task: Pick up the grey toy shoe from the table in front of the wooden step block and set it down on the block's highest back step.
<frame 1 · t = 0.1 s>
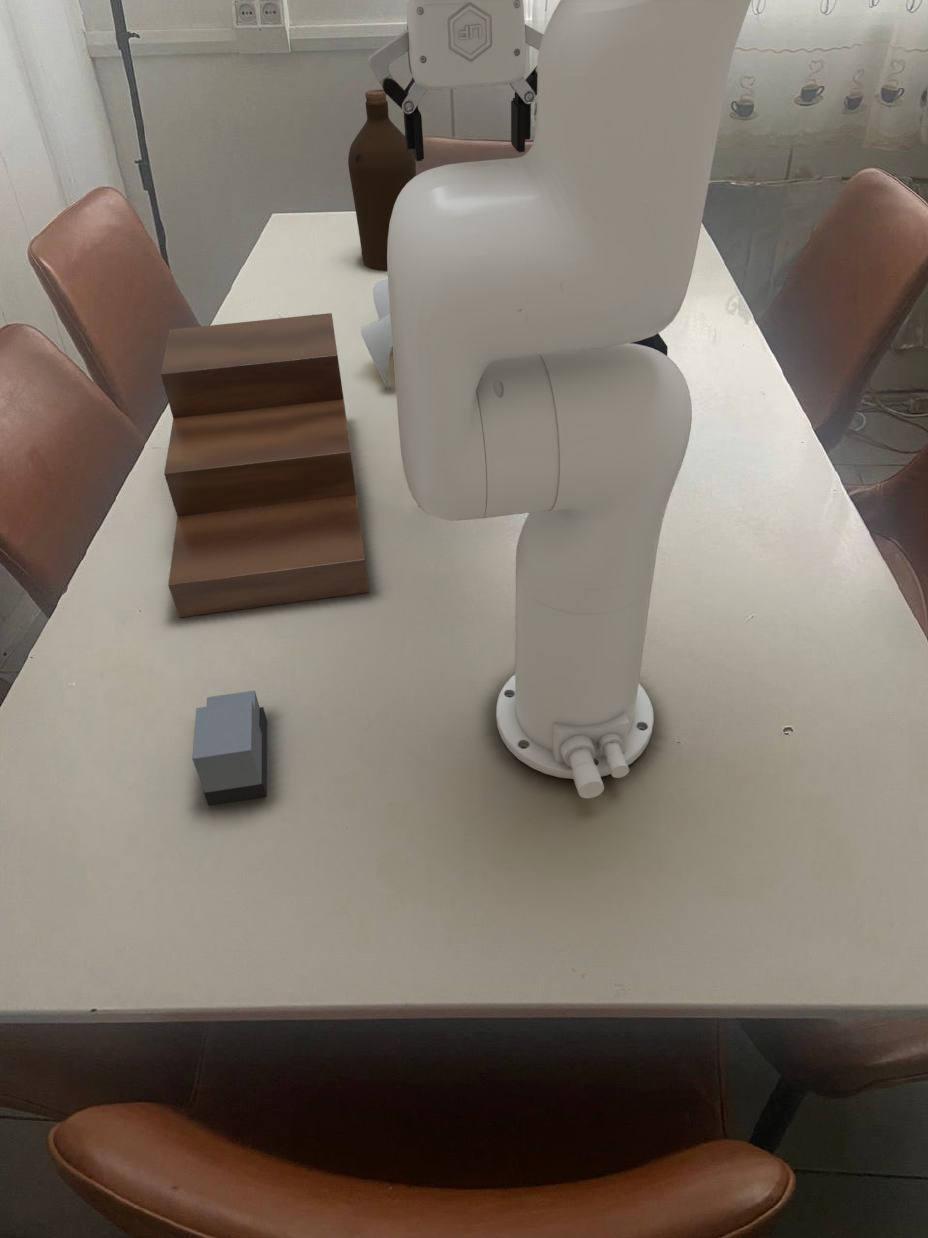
hand: (468, 152, 85), 31 cm above the table, tool pointing down, fingers open, 9 cm apart
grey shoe: (238, 760, 70), on the table
olive oil: (391, 261, 150), on the table
sculpture: (437, 348, 125), on the table
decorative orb: (599, 426, 107), on the table
wooden step block: (274, 507, 97), on the table
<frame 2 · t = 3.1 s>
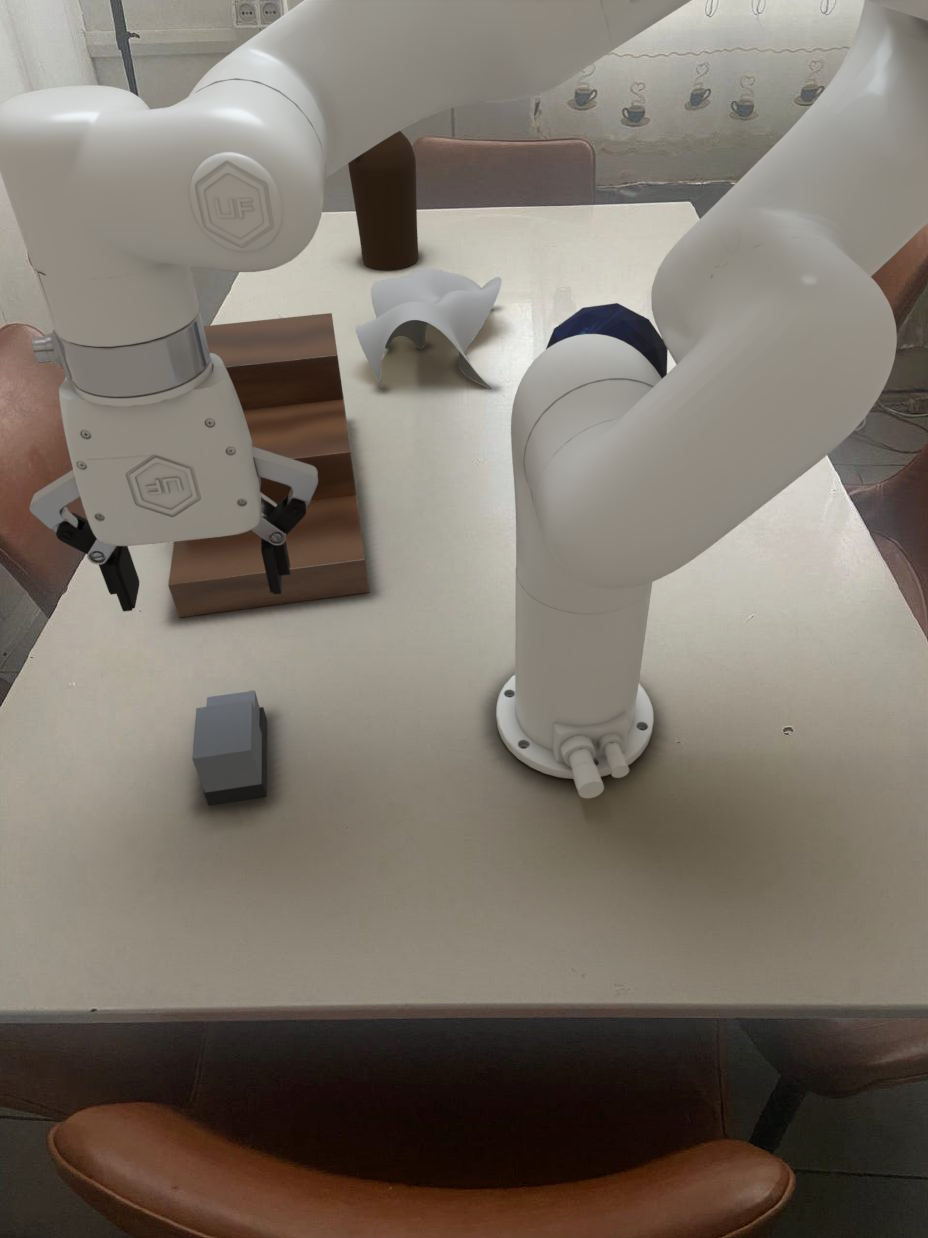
hand: (204, 589, 60), 17 cm above the table, tool pointing down, fingers open, 9 cm apart
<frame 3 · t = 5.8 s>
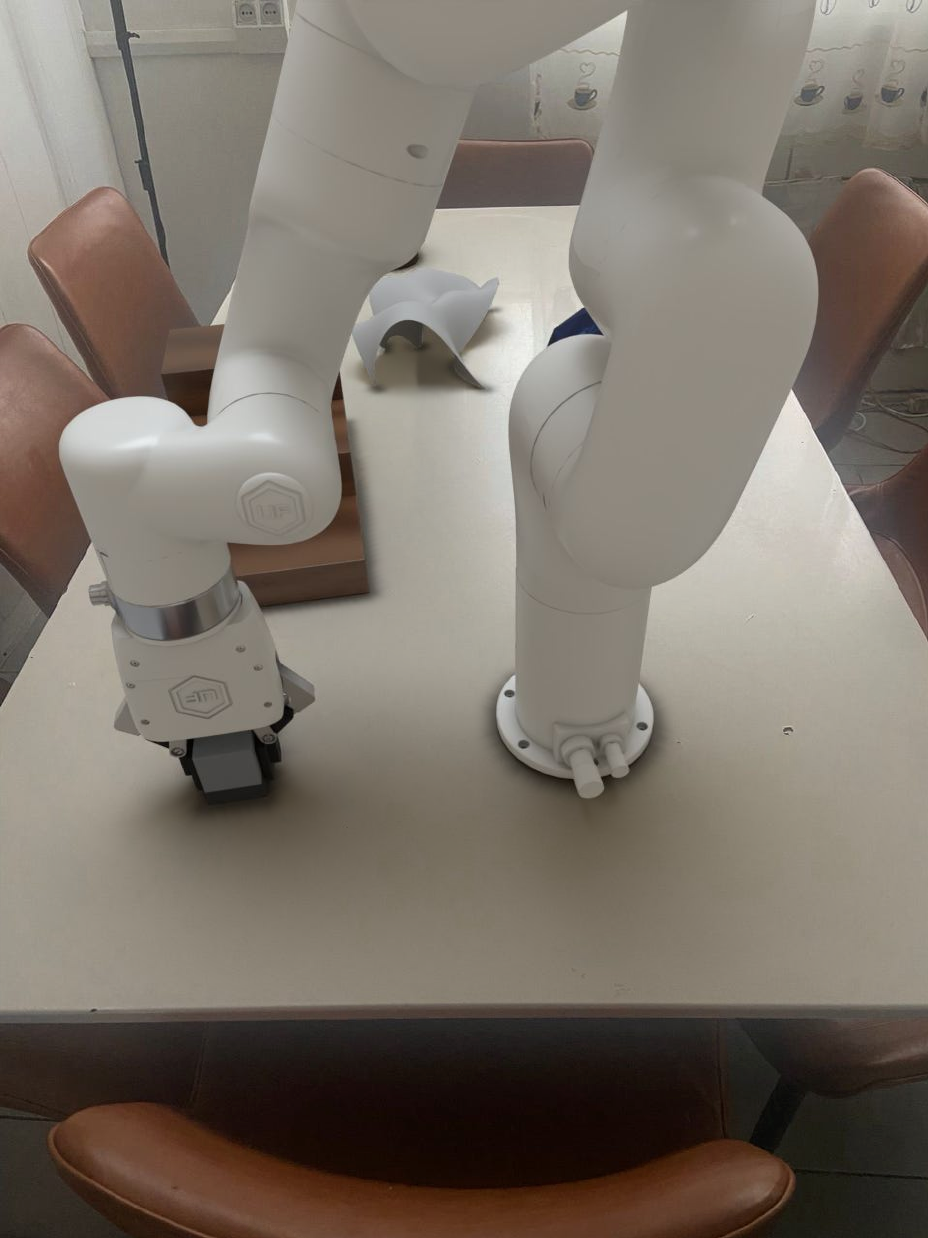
hand: (236, 769, 69), 1 cm above the table, tool pointing down, fingers closed on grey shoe, 4 cm apart
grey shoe: (238, 760, 70), on the table, touching gripper
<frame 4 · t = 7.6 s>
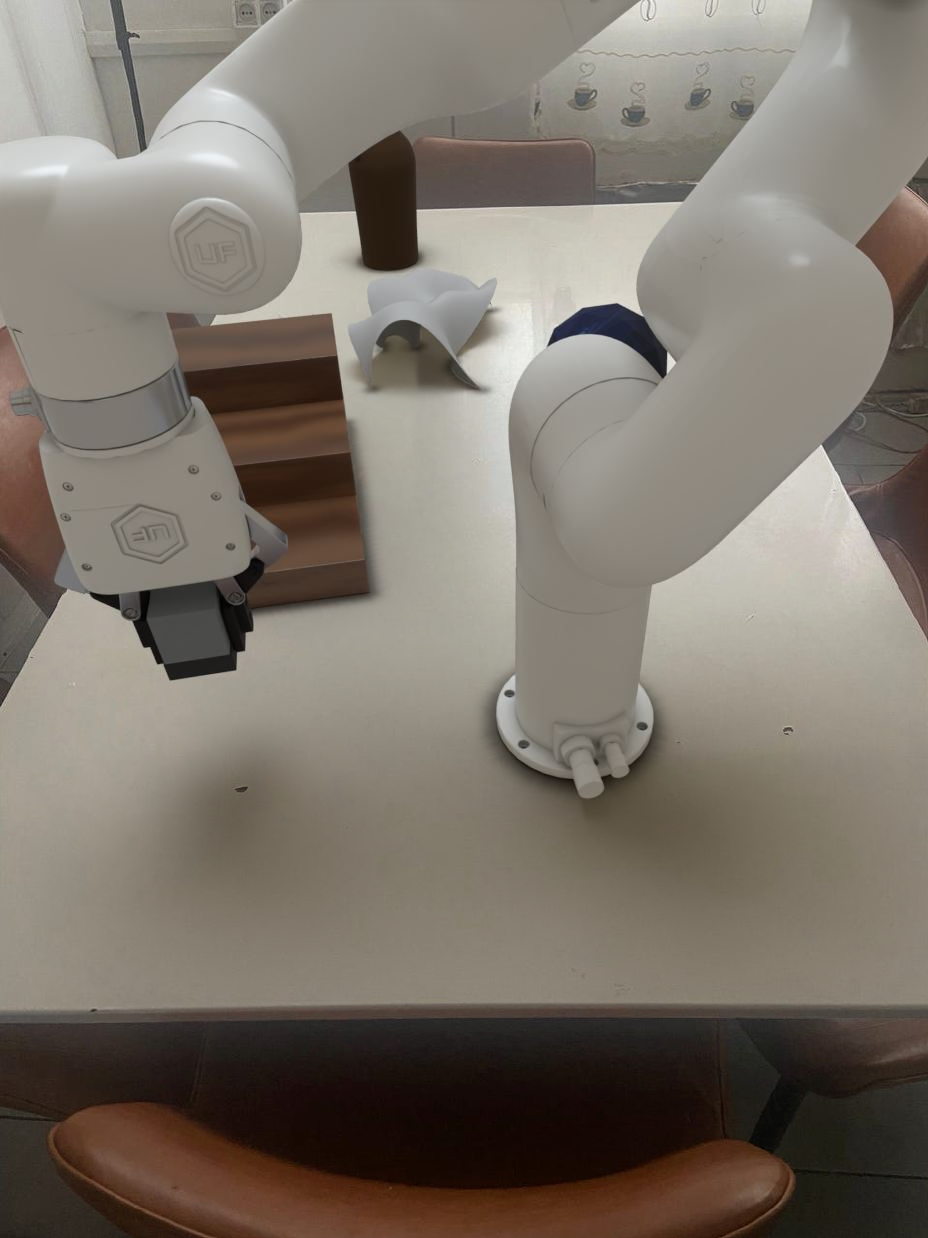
hand: (202, 641, 60), 14 cm above the table, tool pointing down, fingers closed on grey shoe, 4 cm apart
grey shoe: (206, 635, 62), point 13 cm above the table, touching gripper
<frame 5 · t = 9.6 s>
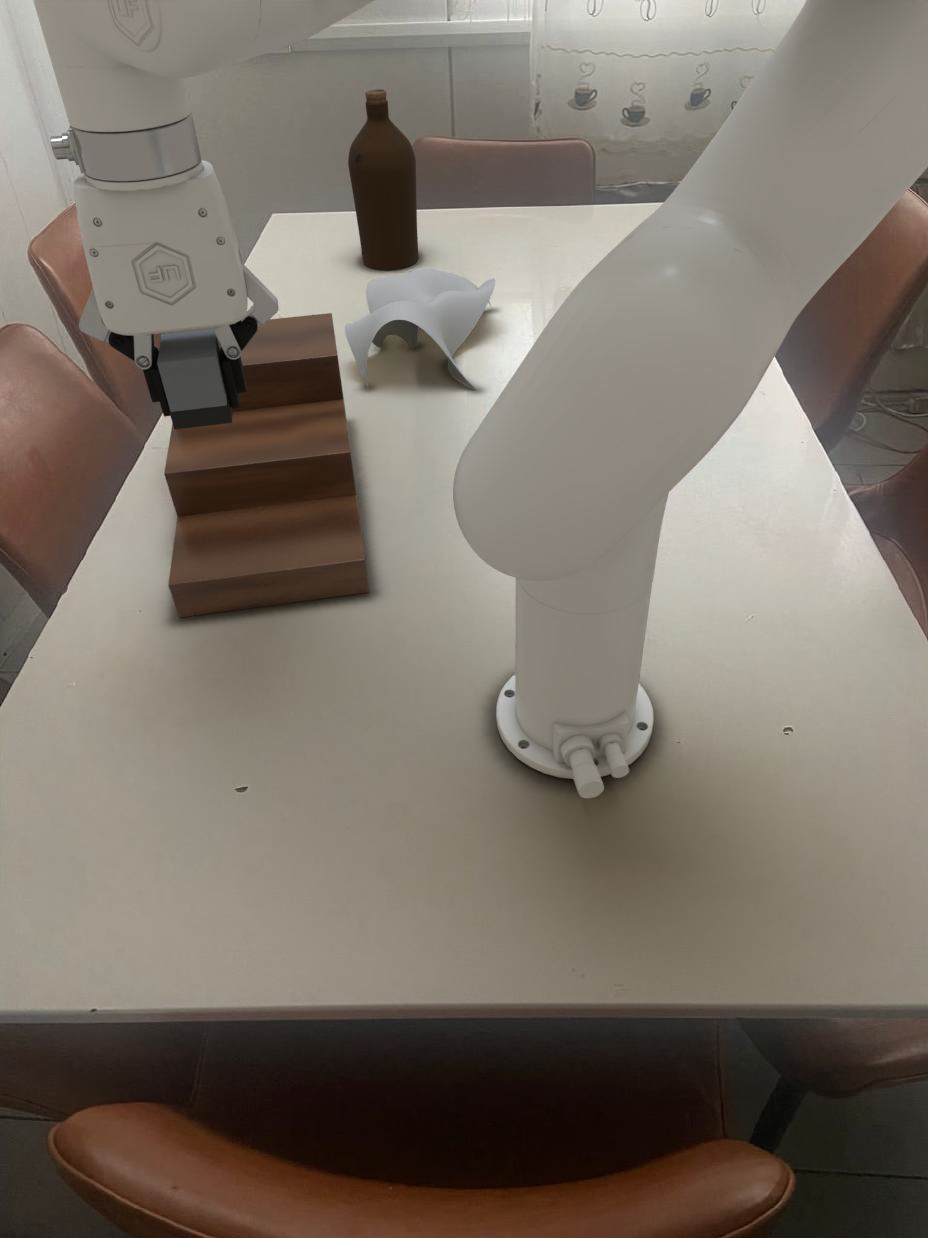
hand: (202, 401, 70), 22 cm above the table, tool pointing down, fingers closed on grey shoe, 4 cm apart
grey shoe: (204, 401, 71), point 21 cm above the table, touching gripper
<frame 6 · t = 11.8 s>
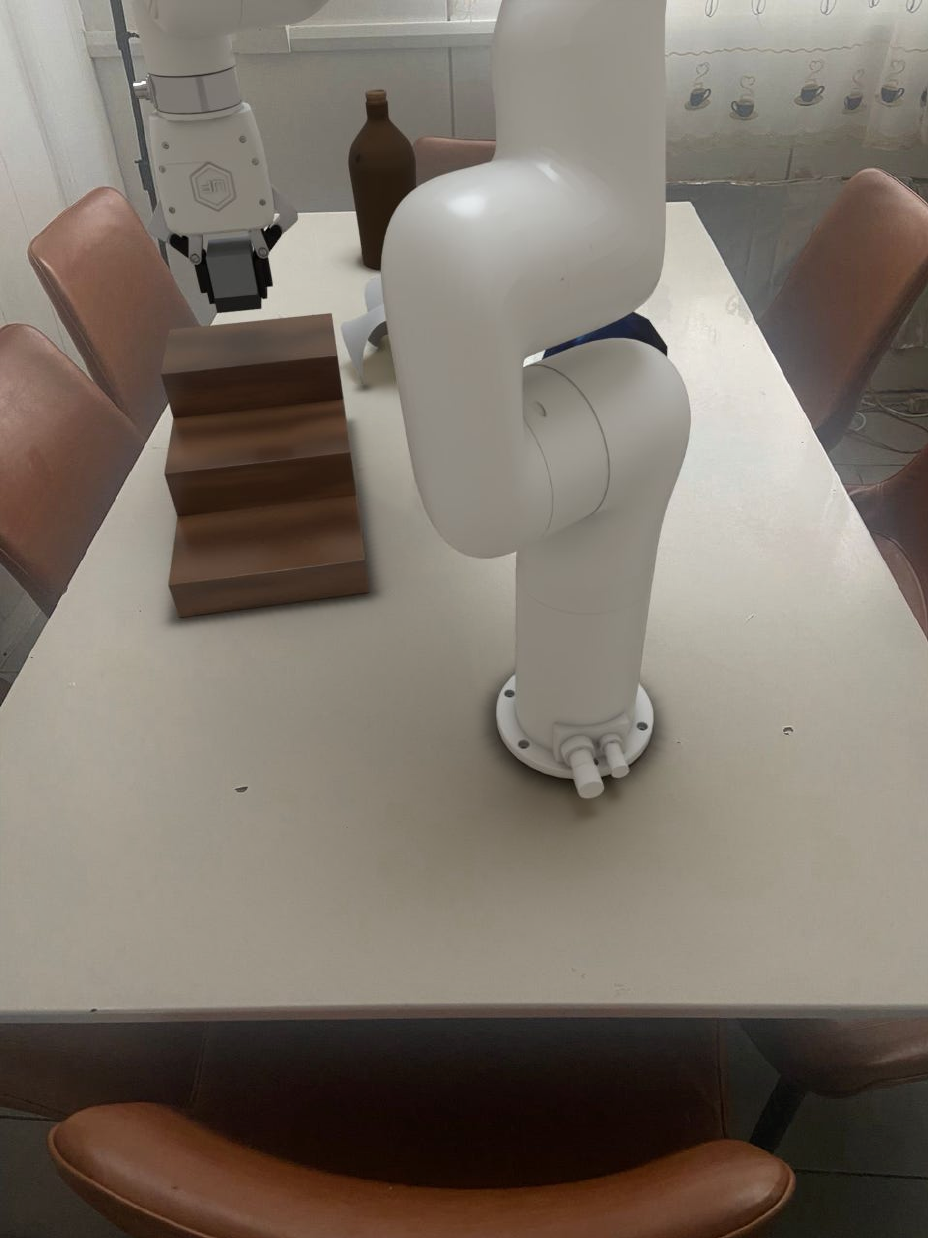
hand: (238, 294, 90), 20 cm above the table, tool pointing down, fingers closed on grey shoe, 4 cm apart
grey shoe: (240, 295, 92), point 19 cm above the table, touching gripper
when the fingers open (15 cm above the table, at t = 13.4 s): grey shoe stays where it is, resting on wooden step block.
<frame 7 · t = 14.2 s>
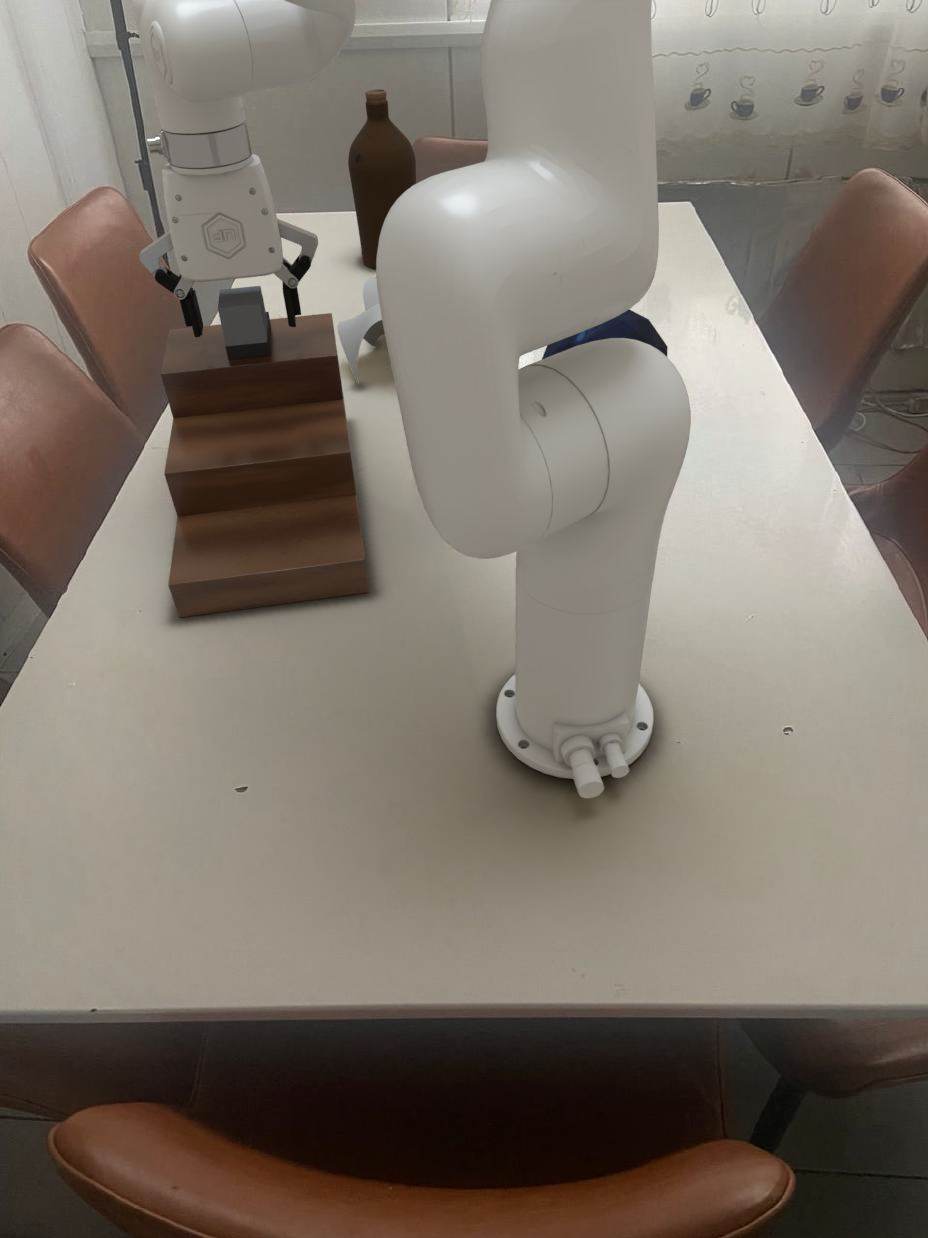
hand: (246, 326, 93), 16 cm above the table, tool pointing down, fingers open, 9 cm apart
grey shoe: (250, 341, 95), point 14 cm above the table, touching wooden step block
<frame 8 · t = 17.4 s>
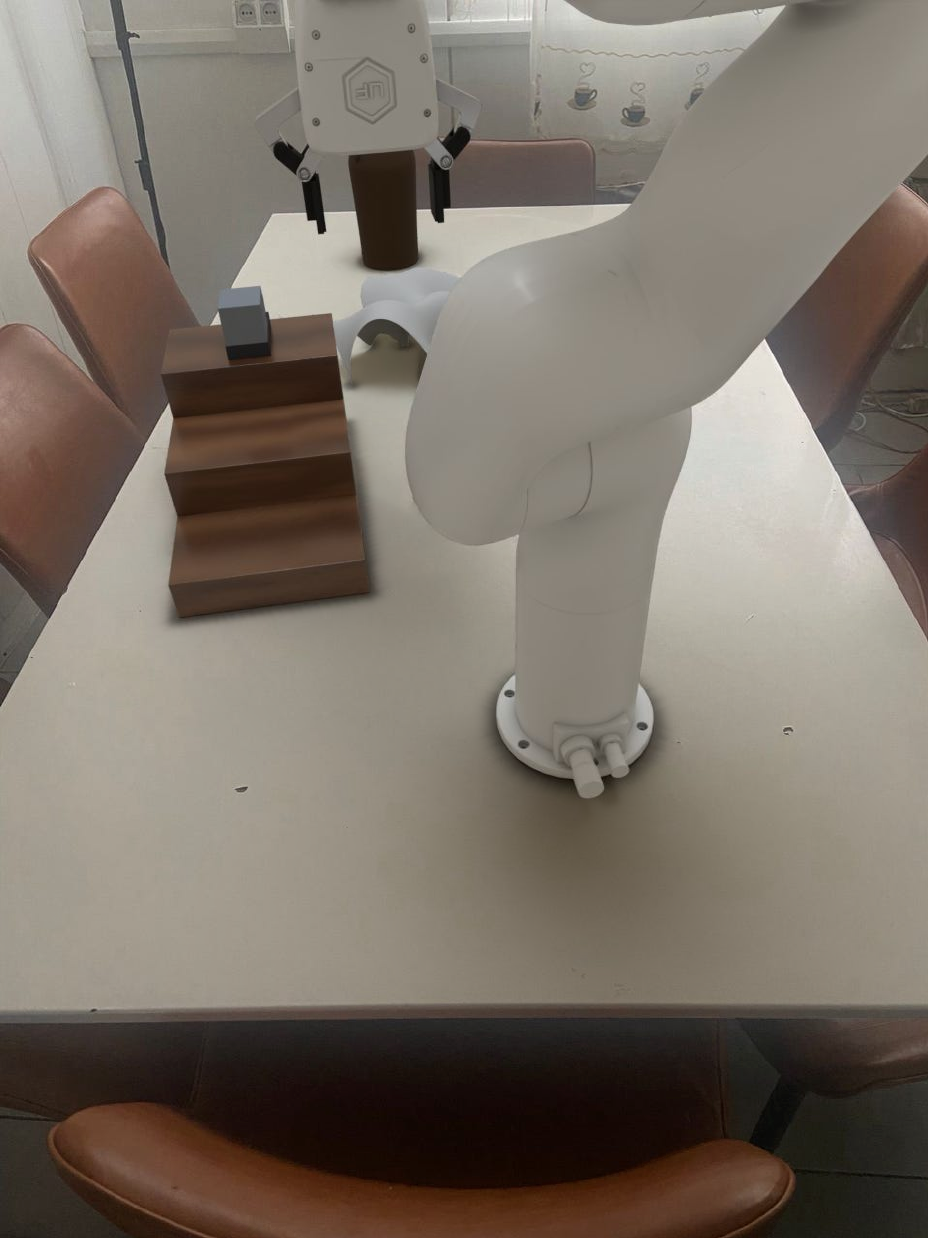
hand: (379, 223, 73), 30 cm above the table, tool pointing down, fingers open, 9 cm apart
at the end: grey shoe inside the target area on the wooden step block (0.2 cm from its centre), point 14.0 cm above the wooden step block's base; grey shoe tilted 0°; the gripper is holding nothing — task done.
